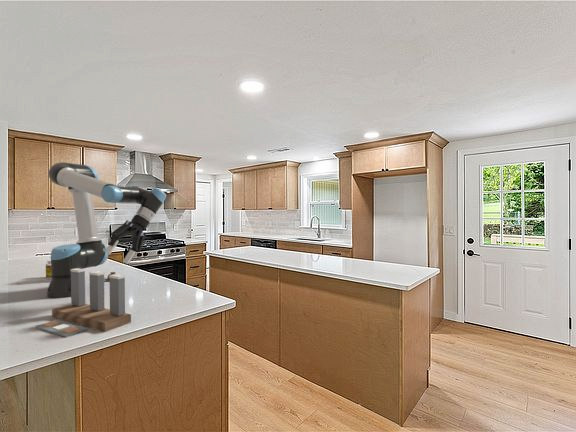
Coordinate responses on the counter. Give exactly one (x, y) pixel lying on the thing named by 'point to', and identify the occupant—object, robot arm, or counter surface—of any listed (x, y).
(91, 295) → the key middle
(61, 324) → the pattern card
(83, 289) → the key inner
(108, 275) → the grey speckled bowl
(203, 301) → the counter surface
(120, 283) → the key outer
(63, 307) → the brown wooden board
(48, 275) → the supplement bottle
